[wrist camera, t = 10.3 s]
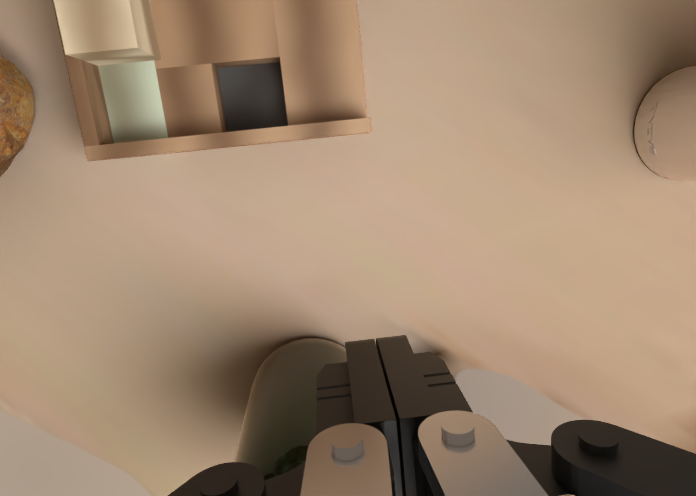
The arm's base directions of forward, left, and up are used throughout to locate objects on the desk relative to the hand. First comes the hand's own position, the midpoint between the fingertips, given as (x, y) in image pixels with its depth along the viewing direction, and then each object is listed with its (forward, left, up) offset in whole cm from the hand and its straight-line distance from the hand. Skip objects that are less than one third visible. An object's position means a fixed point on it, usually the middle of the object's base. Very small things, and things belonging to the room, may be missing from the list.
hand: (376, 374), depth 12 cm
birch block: (+14, -15, -26) cm, 33 cm away
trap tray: (+7, -15, -29) cm, 33 cm away
